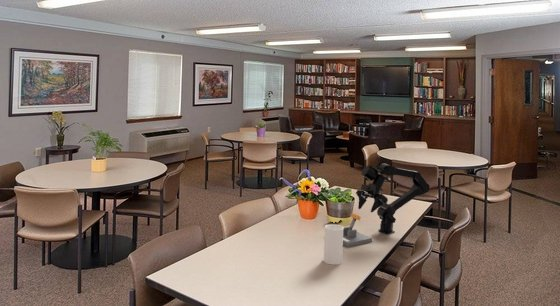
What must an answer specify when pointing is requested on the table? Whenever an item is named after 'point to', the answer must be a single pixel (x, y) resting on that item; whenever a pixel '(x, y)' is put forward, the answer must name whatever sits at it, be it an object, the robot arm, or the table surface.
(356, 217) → the lever
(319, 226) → the table surface
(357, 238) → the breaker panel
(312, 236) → the table surface
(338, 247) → the cup
